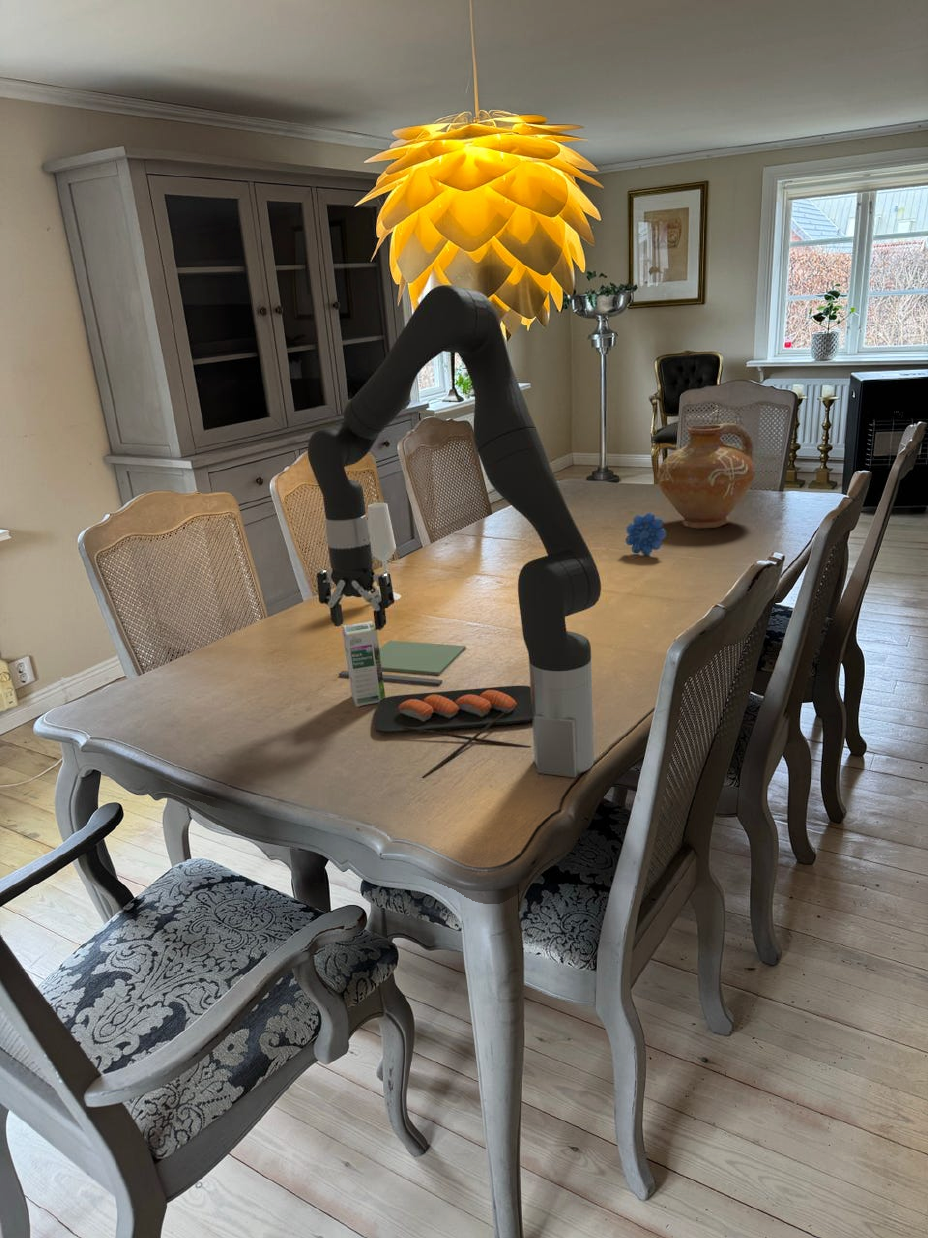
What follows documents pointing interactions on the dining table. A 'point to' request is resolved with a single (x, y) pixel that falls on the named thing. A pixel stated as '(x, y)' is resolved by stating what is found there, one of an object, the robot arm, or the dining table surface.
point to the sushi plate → (455, 712)
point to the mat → (418, 657)
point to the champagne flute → (381, 535)
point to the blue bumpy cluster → (645, 534)
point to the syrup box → (363, 663)
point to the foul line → (403, 679)
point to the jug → (708, 475)
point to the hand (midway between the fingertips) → (359, 626)
